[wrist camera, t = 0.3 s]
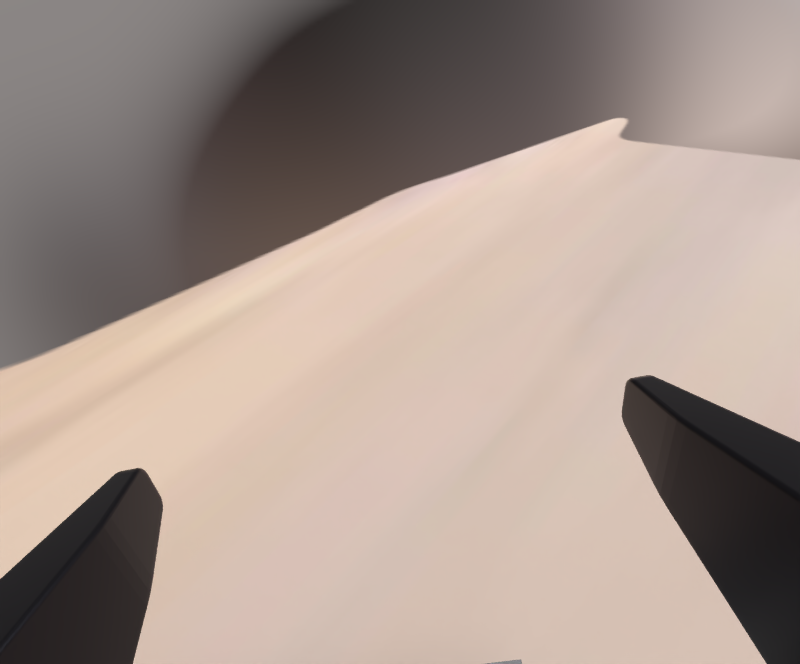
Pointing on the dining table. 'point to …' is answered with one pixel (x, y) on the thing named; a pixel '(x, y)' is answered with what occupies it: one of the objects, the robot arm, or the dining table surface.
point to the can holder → (508, 662)
